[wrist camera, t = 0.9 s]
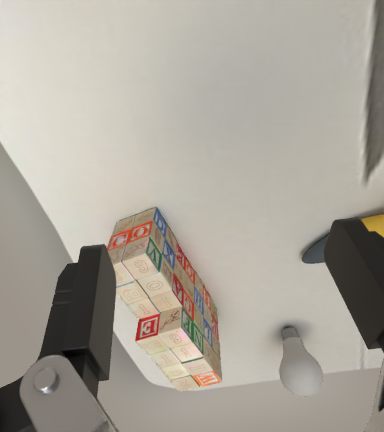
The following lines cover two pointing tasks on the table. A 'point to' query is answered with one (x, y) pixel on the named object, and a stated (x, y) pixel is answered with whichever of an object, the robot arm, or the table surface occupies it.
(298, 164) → the table surface
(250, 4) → the table surface
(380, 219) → the wand massager
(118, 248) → the stack of blocks
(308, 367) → the lightbulb
